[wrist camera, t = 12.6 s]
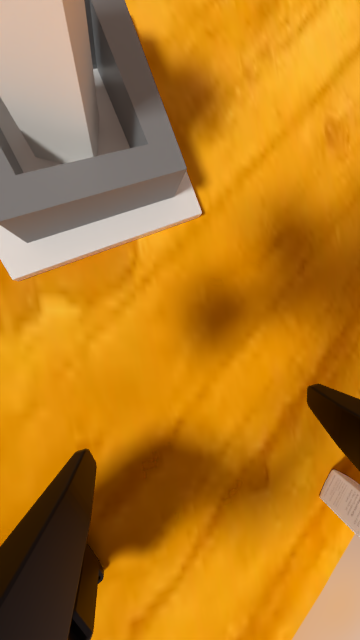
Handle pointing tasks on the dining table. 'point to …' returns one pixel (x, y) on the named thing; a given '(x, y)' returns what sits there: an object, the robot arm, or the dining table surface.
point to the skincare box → (343, 499)
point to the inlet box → (96, 165)
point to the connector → (49, 77)
